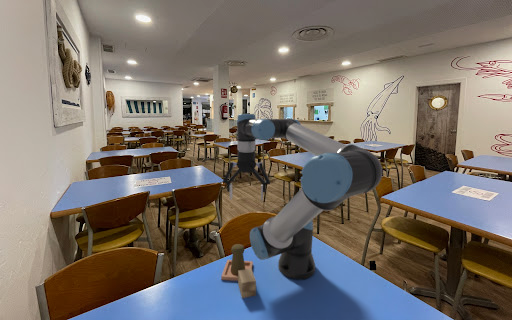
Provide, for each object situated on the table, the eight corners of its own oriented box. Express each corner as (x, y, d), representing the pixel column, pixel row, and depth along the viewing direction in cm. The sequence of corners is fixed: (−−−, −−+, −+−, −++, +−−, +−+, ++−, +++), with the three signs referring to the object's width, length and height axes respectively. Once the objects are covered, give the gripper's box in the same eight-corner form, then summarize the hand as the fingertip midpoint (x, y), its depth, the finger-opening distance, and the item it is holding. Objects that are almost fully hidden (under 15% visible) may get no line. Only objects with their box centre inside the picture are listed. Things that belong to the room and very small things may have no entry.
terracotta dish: (252, 264, 103) (252, 261, 103) (249, 281, 92) (249, 278, 92) (227, 262, 104) (227, 259, 104) (221, 279, 93) (221, 276, 93)
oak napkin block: (251, 282, 92) (251, 268, 91) (255, 295, 85) (255, 280, 84) (238, 284, 90) (238, 270, 89) (241, 298, 84) (241, 283, 83)
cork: (243, 276, 94) (243, 250, 92) (228, 274, 96) (228, 248, 94) (247, 267, 100) (246, 242, 98) (233, 265, 101) (232, 241, 99)
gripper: (276, 150, 104) (274, 197, 108) (219, 149, 106) (220, 195, 110) (276, 152, 97) (275, 202, 101) (215, 151, 99) (216, 200, 102)
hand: (246, 199), depth 105 cm, fingers open, 13 cm apart
